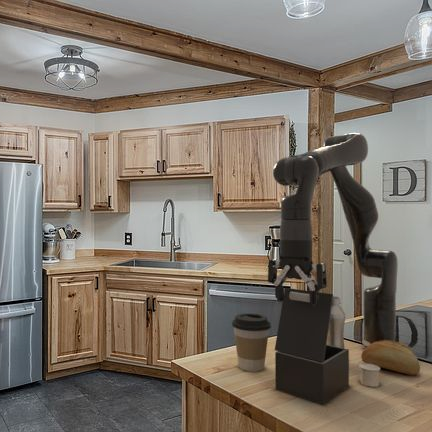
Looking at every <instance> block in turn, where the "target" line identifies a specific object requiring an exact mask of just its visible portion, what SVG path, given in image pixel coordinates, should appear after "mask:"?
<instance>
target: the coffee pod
mask: <svg viewBox="0 0 432 432" xmlns="http://www.w3.org/2000/svg"><path fill="white" fill-rule="evenodd" d="M358 368H359V369H360V383H361V384H362V385H363V386H365V387H366V386H367V387H370V388H371V387H372V388H376V387H379V386H380V371H381V367H378V366H376V365H373V364H366V363H360V364H359V365H358Z"/></svg>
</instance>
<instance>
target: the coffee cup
mask: <svg viewBox="0 0 432 432" xmlns="http://www.w3.org/2000/svg"><path fill="white" fill-rule="evenodd" d="M231 327H233V333H234V340H235V349H236V356H237V364H238V366H239V368H240V369H241V370H243V371H246V372H251V373H252V372H253V373H257V372H261V371H263V370H264V369H265V368H264V367H265V363H266V355H267V349H268V342H269V341H268V340H269V331H270V329H272V326H271V322H270V321H269V320H268V317H267V316H265V315H263V314H260V313H259V314H258V313H250V312H249V313H237V314H236V315H235V317H234V319H233V320H232V322H231Z"/></svg>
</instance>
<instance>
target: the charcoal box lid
mask: <svg viewBox="0 0 432 432" xmlns="http://www.w3.org/2000/svg"><path fill="white" fill-rule="evenodd" d="M310 291H311V290H304V289H297V288H290V287H284V300H283V301H281V302H282V303H281V309H280V315H279V320H278V326H277V327H278V328H277V332H276V339H275V346H274V351H275V352H277V351H280V352H284V353H288V354H291V355H295V356H299V357H303V358H307V359H311V360H315V361H319V362H323V363H324V358H325V351H326V344H327V337H328V329H329V322H330V315H331V308H332V301H333V296H334V293H333V294H332V293H327V292H320V291H319V302H318V304H316V306H310Z"/></svg>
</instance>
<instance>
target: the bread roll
mask: <svg viewBox="0 0 432 432" xmlns="http://www.w3.org/2000/svg"><path fill="white" fill-rule="evenodd" d="M361 361H362V362H363V363H364V364H373V365H376V366H378V367H380V369H381V368H382V369H387V370H391V371H393V372H397V373H401V374H405V375H411V376H414V375H416V374H419V373H420V371H421V365H420V361H419V359H418V358H417V355H416V354H415V352H414V350H413V349H412V348H411V347H409V346H408V345H407V344H405V343H402V342H400V341H397V340H396V341H390V340H378V341H375V342H374V343H372V344H370V345H369V346H368V347H366V348H365V350H364V349H363V351H362V353H361Z"/></svg>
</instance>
